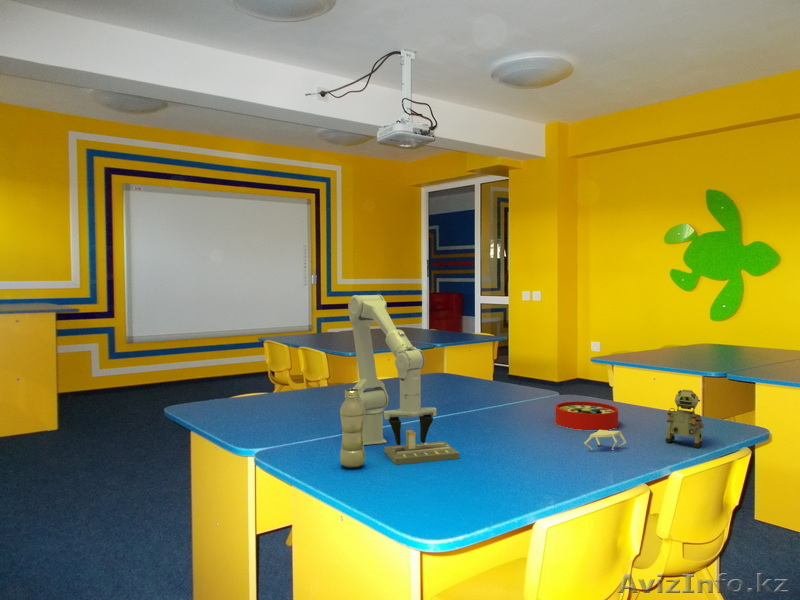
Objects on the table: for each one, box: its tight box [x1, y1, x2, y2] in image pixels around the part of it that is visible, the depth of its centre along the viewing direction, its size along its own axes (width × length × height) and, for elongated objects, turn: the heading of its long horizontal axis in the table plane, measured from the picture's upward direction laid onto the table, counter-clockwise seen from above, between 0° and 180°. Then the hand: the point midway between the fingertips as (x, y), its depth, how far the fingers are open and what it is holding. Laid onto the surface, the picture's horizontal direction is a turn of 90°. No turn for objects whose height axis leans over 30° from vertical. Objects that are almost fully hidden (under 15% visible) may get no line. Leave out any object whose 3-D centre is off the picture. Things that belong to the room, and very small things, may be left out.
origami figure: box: [583, 430, 627, 451], centre depth 163 cm, size 12×8×5 cm
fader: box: [402, 429, 419, 451], centre depth 157 cm, size 4×3×5 cm
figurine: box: [665, 389, 705, 449], centre depth 168 cm, size 9×12×15 cm
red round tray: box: [554, 400, 619, 430], centre depth 192 cm, size 20×6×20 cm
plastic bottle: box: [339, 388, 366, 469], centre depth 149 cm, size 6×7×20 cm
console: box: [383, 440, 461, 466], centre depth 158 cm, size 18×12×2 cm, turn 106°
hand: (410, 443), depth 158 cm, fingers open, 6 cm apart
